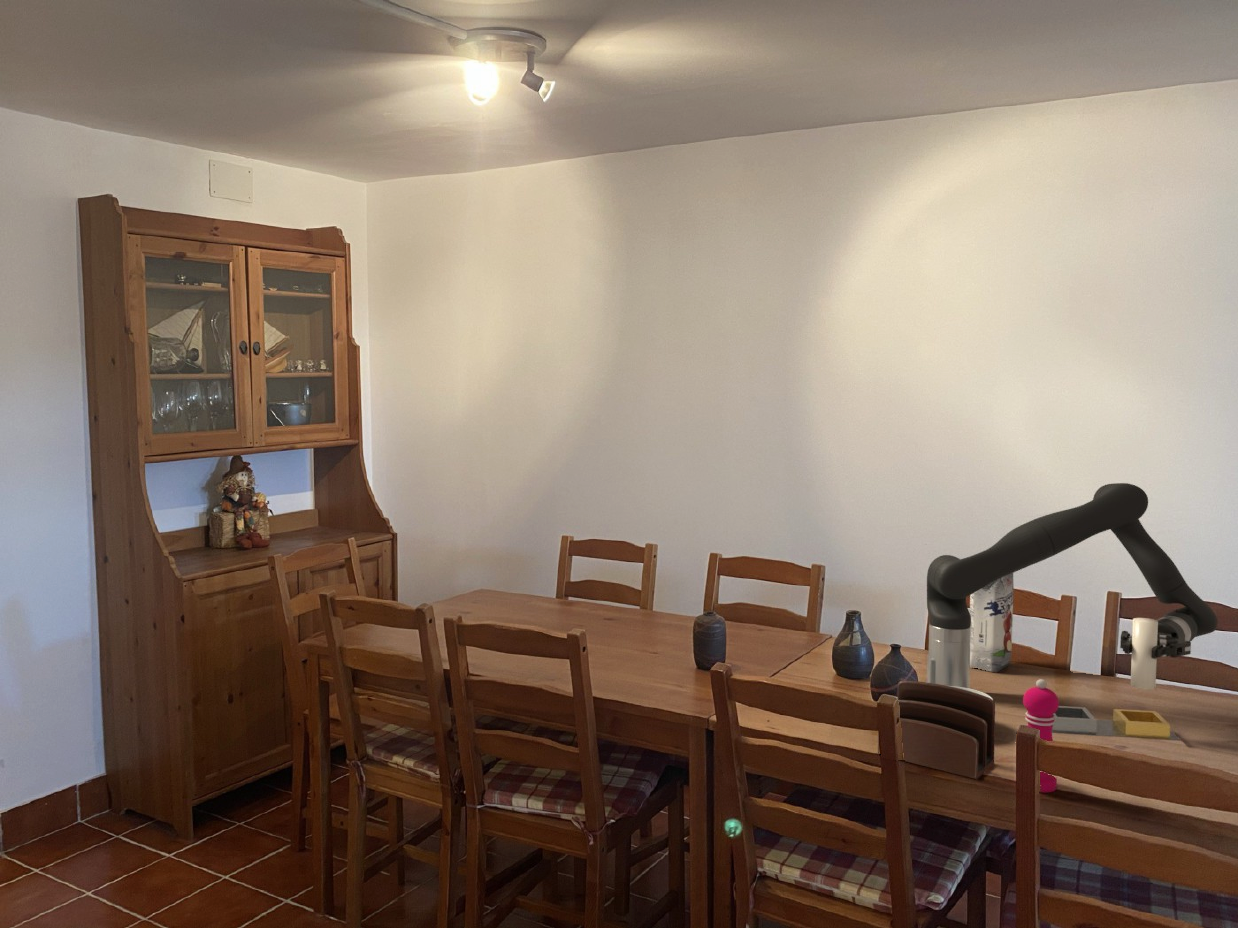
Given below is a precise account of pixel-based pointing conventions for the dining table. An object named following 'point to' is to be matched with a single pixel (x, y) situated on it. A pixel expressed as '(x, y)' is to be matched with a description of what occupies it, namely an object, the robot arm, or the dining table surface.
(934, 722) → the letter holder
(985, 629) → the juice carton
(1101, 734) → the peg insertion base
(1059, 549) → the robot arm
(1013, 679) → the dining table surface
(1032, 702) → the pepper mill
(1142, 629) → the cream peg
